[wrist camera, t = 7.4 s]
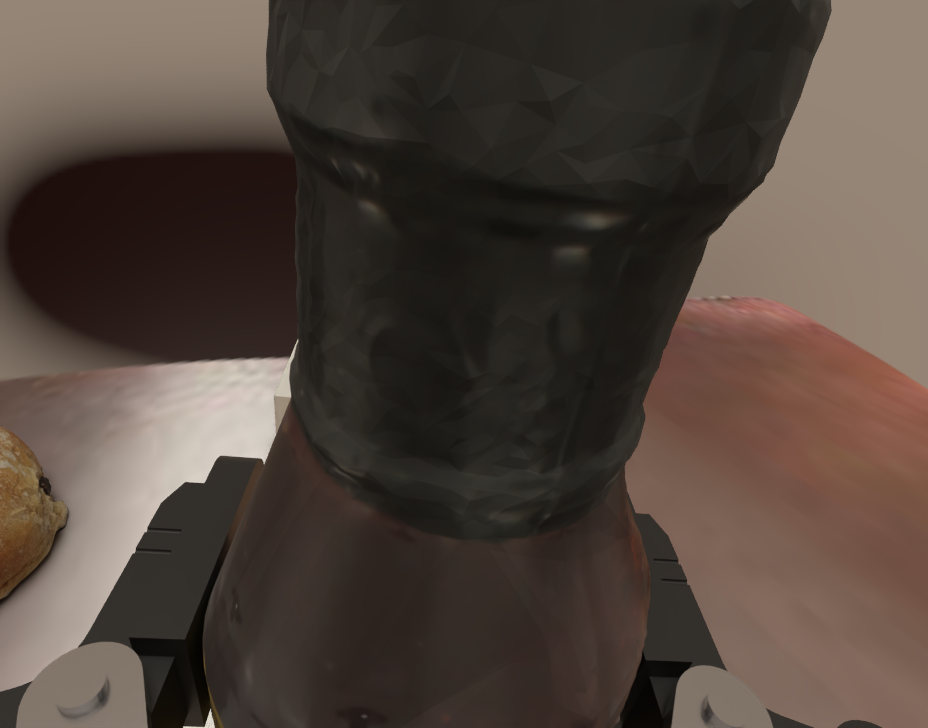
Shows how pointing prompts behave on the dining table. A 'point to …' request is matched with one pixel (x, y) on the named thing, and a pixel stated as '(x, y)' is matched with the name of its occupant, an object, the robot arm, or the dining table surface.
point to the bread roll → (24, 512)
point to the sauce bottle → (482, 345)
